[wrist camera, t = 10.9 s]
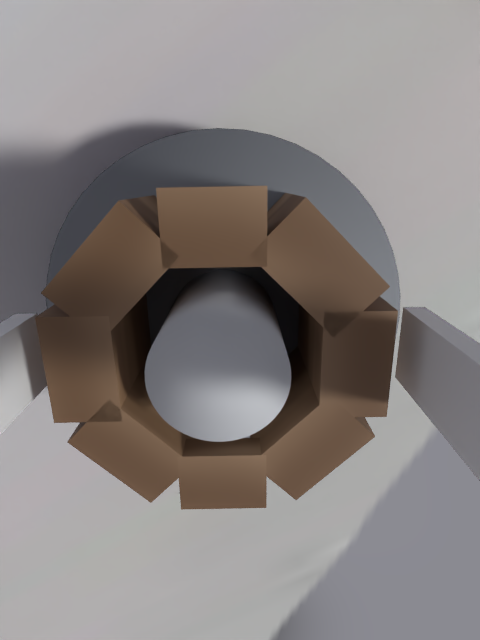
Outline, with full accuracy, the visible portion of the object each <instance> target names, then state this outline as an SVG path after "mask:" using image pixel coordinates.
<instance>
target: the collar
mask: <svg viewBox="0 0 480 640" xmlns="http://www.w3.org/2000/svg"><path fill="white" fill-rule="evenodd" d="M156 194H157V197H155V196H154V195H152V196H145V197H139V198H132V199H125V200H119V201H118V202H117V203H116V204H115V205H114V206H113V208H112V209H111V210H110V211H109V212H108V214H107V215H106V216H105V217H104V218H103V220H102V221H101V222H100V223H99V224H98V226H97V227H96V228H95V229H94V230H93V232H92V233H91V234H90V235H89V236H88V237H87V239H86V240H85V241H84V242H83V243H82V245H81V246H80V247H79V248H78V249H77V251H76V252H75V253H74V254H73V255H72V257H71V258H70V259H69V260H68V261H67V263H66V264H65V265H64V266H63V267H62V268H61V270H60V271H59V272H58V273H57V274H56V276H55V277H54V278H53V279H52V280H51V282H50V283H49V284H48V285H47V286H46V288H45V289H44V290H43V291H42V292H41V294H43V295H44V296H45V297H46V298H48V299H49V300H50V301H51V302H53V303H54V305H53V306H51V307H50V308H48V309H47V310H45V311H44V312H42V313H41V314H39V315H38V316H36V317H35V321H36V327H37V332H38V337H39V343H40V348H41V354H42V359H43V364H44V370H45V375H46V380H47V386H48V391H49V397H50V402H51V407H52V413H53V418H54V423H67V422H80V424H79V425H78V427H77V428H76V430H75V431H74V433H73V434H72V436H71V437H70V439H69V440H68V443H69V444H71V445H72V446H73V447H75V448H76V449H78V450H79V451H80V452H82V453H83V454H84V455H86V456H87V457H89V458H90V459H91V460H93V461H94V462H95V463H97V464H98V465H100V466H101V467H102V468H104V469H105V470H106V471H108V472H109V473H111V474H112V475H113V476H115V477H116V478H118V479H119V480H120V481H122V482H123V483H124V484H126V485H127V486H129V487H130V488H131V489H133V490H134V491H135V492H137V493H138V494H140V495H141V496H142V497H144V498H145V499H146V500H148V501H149V502H152V501H153V500H155V499H156V498H157V497H158V496H159V495H160V494H161V493H162V492H163V491H164V490H166V489H167V488H168V487H169V486H170V485H171V484H172V483H173V482H174V481H176V480H177V479H178V478H179V487H180V499H181V509H223V508H266V476H267V477H268V478H269V479H271V480H272V481H273V482H274V483H276V484H277V485H278V486H279V487H281V488H282V489H283V490H284V491H286V492H287V493H288V494H289V495H290V496H292V497H293V498H294V499H295V500H297V499H298V498H299V497H301V496H302V495H303V494H304V493H305V492H307V491H308V490H309V489H310V488H312V487H313V486H314V485H315V484H317V483H318V482H319V481H320V480H322V479H323V478H324V477H325V476H327V475H328V474H329V473H330V472H332V471H333V470H334V469H335V468H337V467H338V466H339V465H340V464H341V463H343V462H344V461H345V460H346V459H348V458H349V457H350V456H351V455H353V454H354V453H355V452H356V451H358V450H359V449H360V448H361V447H363V446H364V445H365V444H366V443H368V442H369V441H370V440H371V439H373V438H374V437H375V435H374V434H373V432H372V430H371V428H370V426H369V424H368V423H367V421H366V419H365V417H387V408H388V399H389V390H390V381H391V372H392V363H393V354H394V345H395V335H396V326H397V317H398V310H397V309H395V308H394V307H393V306H391V305H390V304H389V303H388V302H386V301H385V300H384V299H383V298H381V297H380V295H382V294H383V293H384V292H385V291H386V290H387V289H388V288H389V287H390V286H389V285H388V284H387V283H386V282H385V280H384V279H383V278H382V277H381V276H380V275H379V274H378V273H377V272H376V271H375V270H374V269H373V268H372V267H371V266H370V265H369V264H368V262H367V261H366V260H365V259H364V258H363V257H362V256H361V255H360V254H359V253H358V252H357V251H356V250H355V249H354V248H353V247H352V245H351V244H350V243H349V242H348V241H347V240H346V239H345V238H344V237H343V236H342V235H341V234H340V233H339V232H338V231H337V230H336V229H335V227H334V226H333V225H332V224H331V223H330V222H329V221H328V220H327V219H326V218H325V217H324V216H323V215H322V214H321V213H320V212H319V210H318V209H317V208H316V207H315V206H314V205H313V204H312V203H311V202H310V201H309V200H308V199H307V198H306V197H303V196H298V195H294V194H289V193H285V194H284V195H283V196H282V197H281V198H280V199H279V200H278V201H277V202H276V203H275V204H274V205H273V206H272V207H271V208H270V209H269V210H268V212H267V186H213V187H162V188H156ZM221 267H262V268H263V269H264V270H265V271H266V272H267V273H268V274H269V275H270V276H271V277H272V278H273V279H274V280H275V281H276V282H277V283H278V284H279V285H280V286H281V287H282V288H283V289H284V290H285V291H287V292H288V293H289V294H290V295H291V296H292V297H293V298H294V299H295V300H296V301H297V302H298V303H299V323H298V346H297V347H296V348H295V349H294V350H293V351H292V352H291V353H290V354H289V355H288V358H289V362H290V367H291V387H290V391H289V395H288V397H287V400H286V402H285V404H284V406H283V408H282V409H281V411H280V412H279V414H278V415H277V416H276V417H275V418H274V419H273V420H272V421H271V422H270V423H269V424H268V425H267V426H265V427H264V428H263V429H261V430H260V431H258V432H256V433H254V434H252V435H250V438H241V439H238V440H233V441H225V442H213V441H205V440H200V439H196V438H193V437H190V436H188V435H185V434H183V433H182V432H180V431H178V430H176V429H175V428H173V427H172V426H171V425H169V424H168V423H167V422H166V421H165V420H164V419H163V418H162V417H161V416H160V415H159V414H158V412H157V411H156V409H155V408H154V406H153V405H152V403H151V400H150V398H149V396H148V393H147V390H146V384H145V364H146V360H147V356H148V353H149V351H150V349H151V339H150V328H149V318H148V307H147V296H146V292H147V291H148V290H149V289H150V288H151V287H152V286H153V285H154V284H155V283H156V281H157V280H158V279H159V278H160V277H161V276H162V275H163V274H164V273H165V272H166V271H167V270H168V268H221Z"/></svg>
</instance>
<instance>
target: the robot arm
mask: <svg viewBox="0 0 480 640" xmlns="http://www.w3.org/2000/svg"><path fill="white" fill-rule="evenodd" d="M36 316H37V313H25V314H14V315H12V316H11V317H9V318H7V319H6V320H4V321H2V322H1V323H0V435H1V434H2V433H3V432H4V430H5V429H6V428H7V427H8V426H9V425H10V424H11V423H12V422H13V421H14V420H15V419H16V418H17V417H18V416H19V414H20V413H21V412H22V411H23V410H24V409H25V408H26V407H27V406H28V405H29V404H30V403H31V402H32V401H33V400H34V399H35V397H36V396H37V395H38V394H39V393H40V392H41V391H42V390H43V389H44V388H45V387H46V386H47V380H46V375H45V370H44V364H43V359H42V354H41V348H40V343H39V337H38V332H37V327H36V321H35V317H36ZM395 377H396V378H397V380H398V381H399V382H400V383H401V385H402V386H403V387H404V388H405V390H406V391H407V392H408V393H409V394H410V396H411V397H412V398H413V399H414V401H415V402H416V403H417V404H418V406H419V407H420V408H421V409H422V410H423V412H424V413H425V414H426V415H427V417H428V418H429V419H430V420H431V422H432V423H433V424H434V425H435V426H436V428H437V429H438V430H439V431H440V433H441V434H442V435H443V436H444V438H445V439H446V440H447V441H448V442H449V444H450V445H451V446H452V447H453V449H454V450H455V451H456V452H457V454H458V455H459V456H460V457H461V459H462V460H463V461H464V462H465V463H466V465H467V466H468V467H469V468H470V469H471V471H472V472H473V473H474V475H475V476H476V477H477V478H478V479H479V481H480V343H478V342H477V341H475V340H474V339H472V338H471V337H469V336H468V335H466V334H465V333H463V332H462V331H460V330H459V329H457V328H456V327H454V326H453V325H451V324H450V323H448V322H447V321H445V320H444V319H442V318H441V317H439V316H438V315H436V314H434V313H433V312H431V311H430V310H428V309H427V308H425V307H403V315H402V323H401V332H400V341H399V349H398V358H397V366H396V375H395Z"/></svg>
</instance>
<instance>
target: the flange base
mask: <svg viewBox="0 0 480 640" xmlns="http://www.w3.org/2000/svg"><path fill="white" fill-rule="evenodd" d="M213 186H267V212H268V210H269V209H270V208H271V207H272V206H273V205H274V204H275V203H276V202H277V201H278V200H279V199H280V198H281V197H282V196H283V195H284V194H285V193H289V194H294V195H298V196H303V197H306V198H307V199H308V200H309V201H310V202H311V203H312V204H313V205H314V206H315V207H316V208H317V209H318V210H319V212H320V213H321V214H322V215H323V216H324V217H325V218H326V219H327V220H328V221H329V222H330V223H331V224H332V225H333V226H334V227H335V229H336V230H337V231H338V232H339V233H340V234H341V235H342V236H343V237H344V238H345V239H346V240H347V241H348V242H349V243H350V244H351V245H352V247H353V248H354V249H355V250H356V251H357V252H358V253H359V254H360V255H361V256H362V257H363V258H364V259H365V260H366V261H367V262H368V264H369V265H370V266H371V267H372V268H373V269H374V270H375V271H376V272H377V273H378V274H379V275H380V276H381V277H382V278H383V279H384V280H385V282H386V283H387V284H388V285H389V286H390V287H389V288H388V289H387V290H386V291H385V292H384V293H383V294H382V295H380V297H381V298H383V299H384V300H385V301H386V302H388V303H389V304H390V305H391V306H393V307H394V308H395V309H397V310H398V317H397V326H396V333H397V328H398V322H399V313H400V287H399V277H398V270H397V266H396V262H395V258H394V253H393V250H392V247H391V245H390V242H389V240H388V237H387V235H386V232H385V229H384V228H383V226H382V224H381V222H380V220H379V219H378V217H377V215H376V213H375V212H374V210H373V208H372V207H371V206H370V204H369V203H368V202H367V200H366V199H365V198H364V196H363V195H362V194H361V193H360V191H359V190H358V189H357V188H356V187H355V186H354V185H353V184H352V183H351V182H350V181H349V180H348V179H347V178H346V177H345V176H344V175H343V174H342V173H341V172H340V171H339V170H337V169H336V168H334V167H333V166H332V165H330V164H329V163H328V162H326V161H325V160H323V159H322V158H321V157H319V156H318V155H316V154H314V153H312V152H310V151H308V150H306V149H304V148H303V147H301V146H299V145H297V144H295V143H292V142H289V141H286V140H283V139H281V138H278V137H275V136H272V135H268V134H263V133H258V132H253V131H248V130H240V129H222V128H216V129H205V130H193V131H188V132H184V133H180V134H175V135H171V136H167V137H164V138H162V139H159V140H157V141H154V142H151V143H149V144H146V145H144V146H142V147H140V148H138V149H136V150H135V151H133V152H131V153H129V154H128V155H126V156H124V157H122V158H121V159H119V160H118V161H117V162H115V163H114V164H113V165H112V166H110V167H109V168H108V169H106V170H105V171H104V172H103V173H101V174H100V175H99V176H98V177H97V178H96V179H95V180H94V181H93V183H92V184H91V185H90V186H89V187H88V188H87V189H86V190H85V191H84V192H83V193H82V195H81V196H80V198H79V199H78V200H77V202H76V203H75V205H74V206H73V208H72V209H71V210H70V212H69V214H68V216H67V218H66V220H65V222H64V224H63V226H62V228H61V230H60V232H59V234H58V236H57V239H56V242H55V245H54V248H53V251H52V254H51V259H50V264H49V270H48V275H47V285H48V284H49V283H50V282H51V280H52V279H53V278H54V277H55V276H56V274H57V273H58V272H59V271H60V270H61V268H62V267H63V266H64V265H65V264H66V263H67V261H68V260H69V259H70V258H71V257H72V255H73V254H74V253H75V252H76V251H77V249H78V248H79V247H80V246H81V245H82V243H83V242H84V241H85V240H86V239H87V237H88V236H89V235H90V234H91V233H92V232H93V230H94V229H95V228H96V227H97V226H98V224H99V223H100V222H101V221H102V220H103V218H104V217H105V216H106V215H107V214H108V212H109V211H110V210H111V209H112V208H113V206H114V205H115V204H116V203H117V202H118V201H119V200H125V199H132V198H139V197H145V196H152V195H154V196H155V197H157V194H156V188H162V187H213ZM146 296H147V307H148V318H149V328H150V339H151V349H150V351H149V353H148V356H147V360H146V364H145V384H146V390H147V393H148V396H149V398H150V400H151V403H152V405H153V406H154V408H155V409H156V411H157V412H158V414H159V415H160V416H161V417H162V418H163V419H164V420H165V421H166V422H167V423H168V424H169V425H171V426H172V427H173V428H175V429H176V430H178V431H180V432H182V433H183V434H185V435H188V436H190V437H193V438H196V439H200V440H205V441H213V442H225V441H233V440H238V439H241V438H250V435H252V434H254V433H256V432H258V431H260V430H261V429H263V428H264V427H265V426H267V425H268V424H269V423H270V422H271V421H272V420H273V419H274V418H275V417H276V416H277V415H278V414H279V412H280V411H281V409H282V408H283V406H284V404H285V402H286V400H287V397H288V395H289V391H290V387H291V367H290V362H289V358H288V355H289V354H290V353H291V352H292V351H293V350H294V349H295V348H296V347H297V346H298V323H299V303H298V302H297V301H296V300H295V299H294V298H293V297H292V296H291V295H290V294H289V293H288V292H287V291H285V290H284V289H283V288H282V287H281V286H280V285H279V284H278V283H277V282H276V281H275V280H274V279H273V278H272V277H271V276H270V275H269V274H268V273H267V272H266V271H265V270H264V269H263V268H262V267H221V268H168V270H167V271H166V272H165V273H164V274H163V275H162V276H161V277H160V278H159V279H158V280H157V281H156V283H155V284H154V285H153V286H152V287H151V288H150V289H149V290H148V291H147V292H146ZM46 305H47V309H48V308H50V307H51V306H53V305H54V303H53V302H51V301H50V300H49V299H48V298H46ZM395 339H396V335H395Z"/></svg>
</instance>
